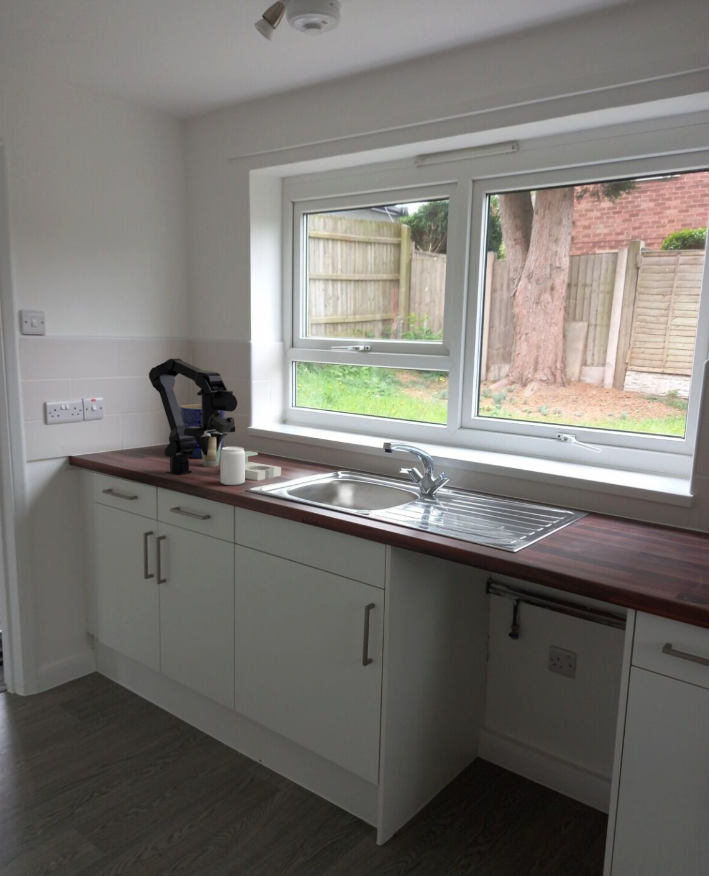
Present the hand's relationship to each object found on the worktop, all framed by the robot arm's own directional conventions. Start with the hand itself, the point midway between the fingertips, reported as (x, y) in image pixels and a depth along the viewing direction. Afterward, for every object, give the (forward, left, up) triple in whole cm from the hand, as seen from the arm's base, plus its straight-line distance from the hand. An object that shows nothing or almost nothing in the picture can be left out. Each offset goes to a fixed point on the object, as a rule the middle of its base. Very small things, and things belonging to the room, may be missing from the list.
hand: (210, 454), depth 235 cm
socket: (+6, +15, -9) cm, 18 cm away
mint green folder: (-1, +16, -9) cm, 18 cm away
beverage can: (+11, 0, -9) cm, 14 cm away
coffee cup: (-18, +17, -9) cm, 26 cm away
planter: (-36, +29, -9) cm, 47 cm away
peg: (0, 0, -2) cm, 2 cm away
